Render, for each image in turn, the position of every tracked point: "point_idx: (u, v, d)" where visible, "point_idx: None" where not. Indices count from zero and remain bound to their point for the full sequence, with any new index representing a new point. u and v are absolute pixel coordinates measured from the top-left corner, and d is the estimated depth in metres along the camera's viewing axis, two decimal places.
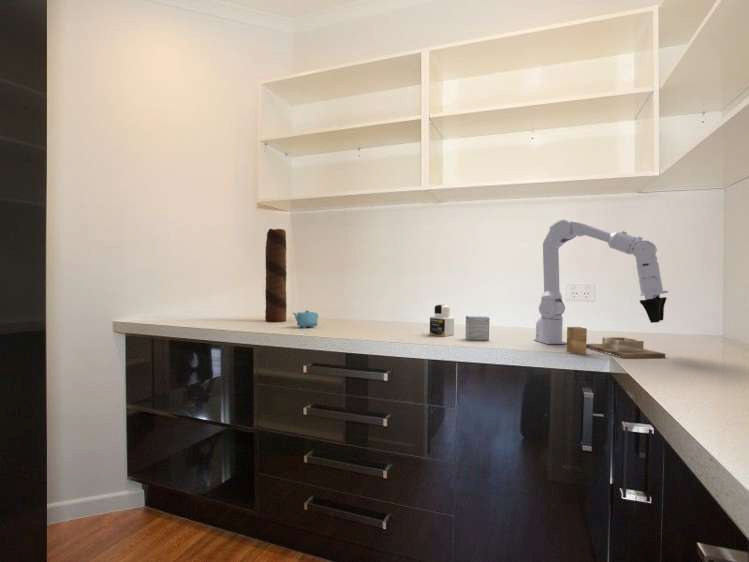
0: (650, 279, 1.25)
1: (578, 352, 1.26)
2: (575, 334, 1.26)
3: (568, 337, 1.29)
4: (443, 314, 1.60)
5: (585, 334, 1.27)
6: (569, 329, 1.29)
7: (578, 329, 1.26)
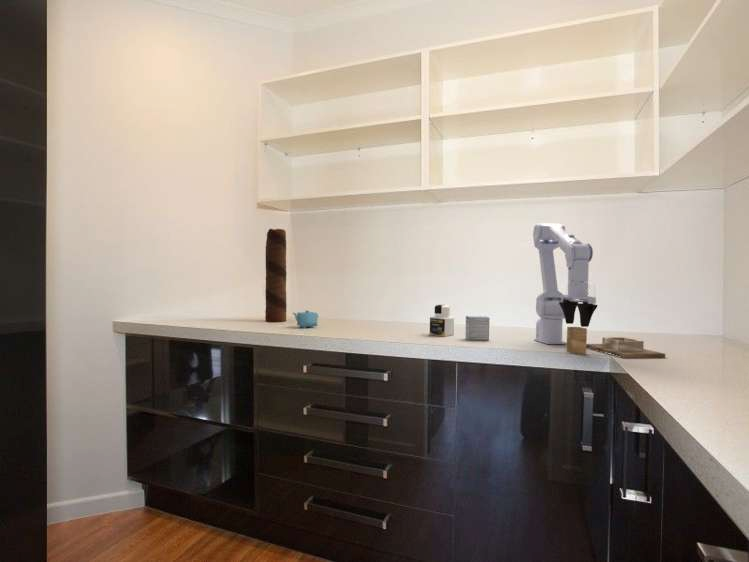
0: None
1: (578, 352, 1.26)
2: (575, 334, 1.26)
3: (568, 337, 1.29)
4: (443, 314, 1.60)
5: (585, 334, 1.27)
6: (569, 329, 1.29)
7: (578, 329, 1.26)
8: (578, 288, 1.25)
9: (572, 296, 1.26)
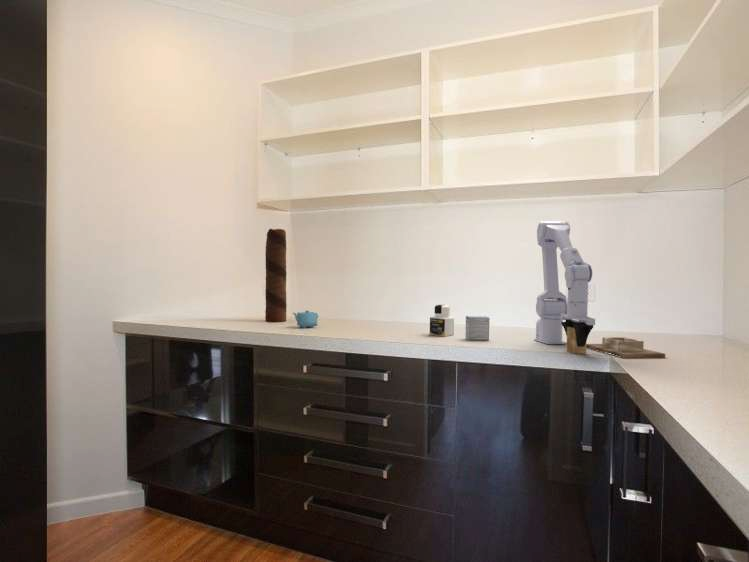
0: None
1: (578, 352, 1.26)
2: (575, 333, 1.26)
3: (568, 337, 1.29)
4: (443, 314, 1.60)
5: None
6: (569, 329, 1.29)
7: None
8: (577, 309, 1.26)
9: (571, 316, 1.26)
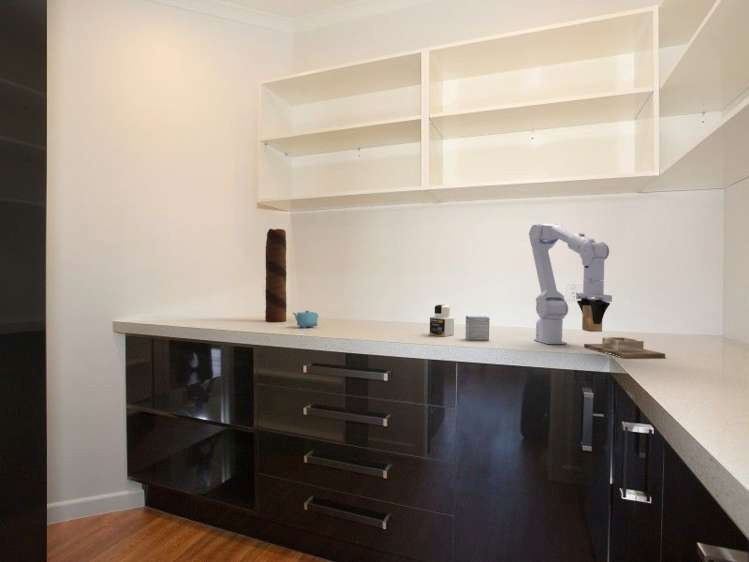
0: None
1: (594, 330, 1.27)
2: (591, 311, 1.27)
3: (584, 315, 1.30)
4: (443, 314, 1.60)
5: None
6: (585, 307, 1.29)
7: None
8: (593, 286, 1.26)
9: (588, 294, 1.27)
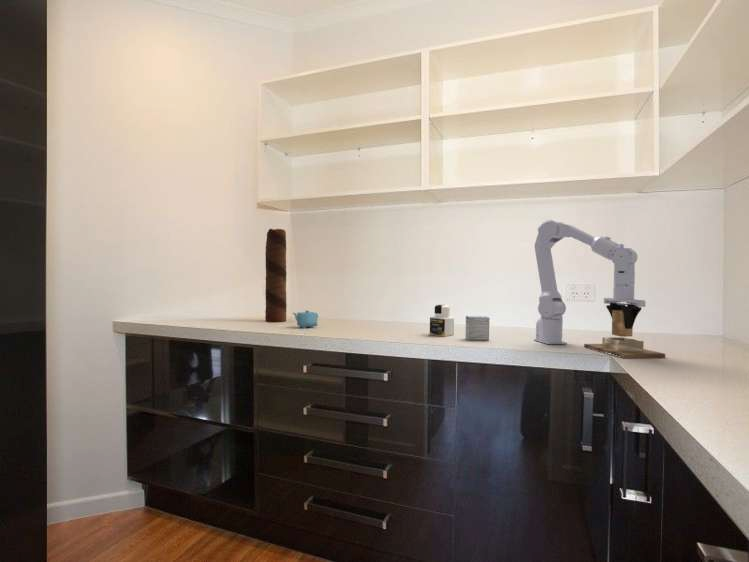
0: None
1: (625, 334, 1.28)
2: (622, 316, 1.28)
3: (614, 320, 1.31)
4: (443, 314, 1.60)
5: None
6: (615, 312, 1.31)
7: None
8: (625, 291, 1.28)
9: (619, 299, 1.28)
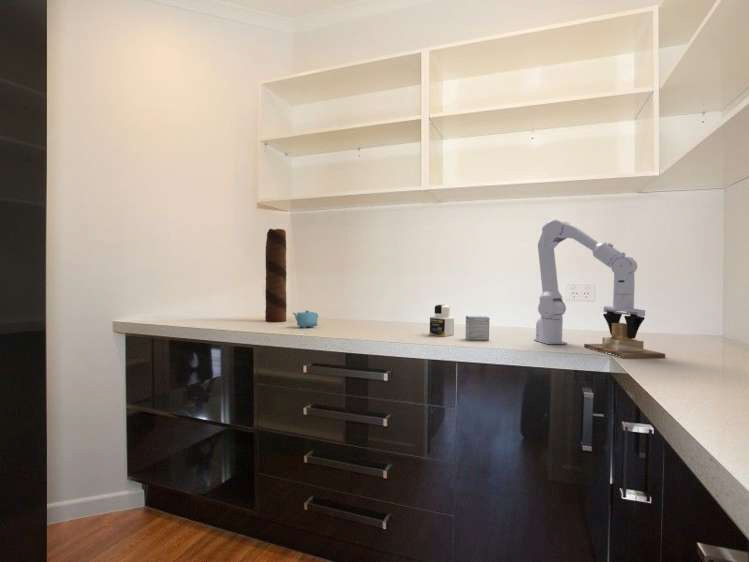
0: None
1: None
2: (622, 329, 1.28)
3: (614, 333, 1.31)
4: (443, 314, 1.60)
5: None
6: (614, 325, 1.31)
7: (625, 325, 1.28)
8: (625, 301, 1.28)
9: (619, 308, 1.28)
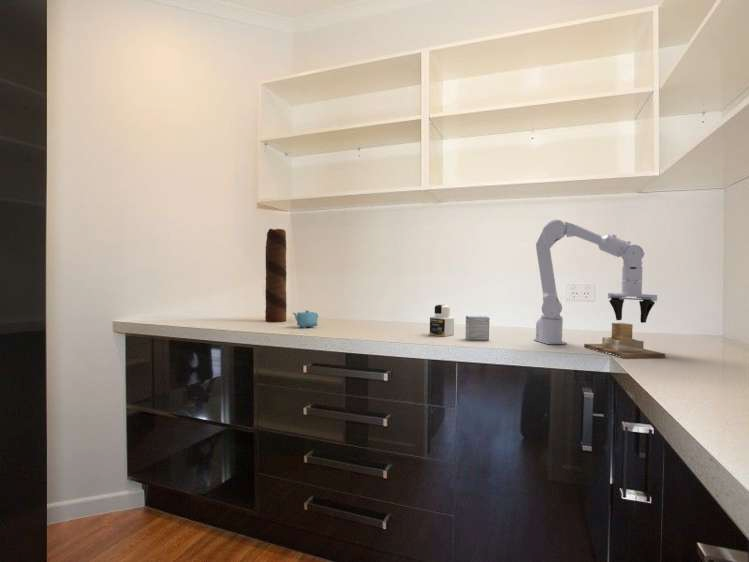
0: None
1: None
2: (622, 329, 1.28)
3: (614, 333, 1.31)
4: (443, 314, 1.60)
5: (631, 330, 1.29)
6: (614, 325, 1.31)
7: (625, 325, 1.28)
8: (637, 286, 1.33)
9: (631, 294, 1.33)
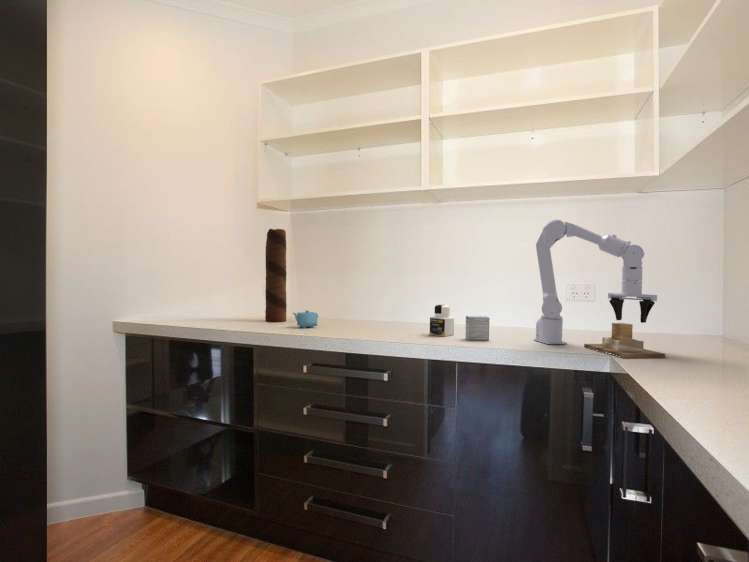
0: None
1: None
2: (622, 329, 1.28)
3: (614, 333, 1.31)
4: (443, 314, 1.60)
5: (631, 330, 1.29)
6: (614, 325, 1.31)
7: (625, 325, 1.28)
8: (637, 286, 1.33)
9: (632, 294, 1.33)
